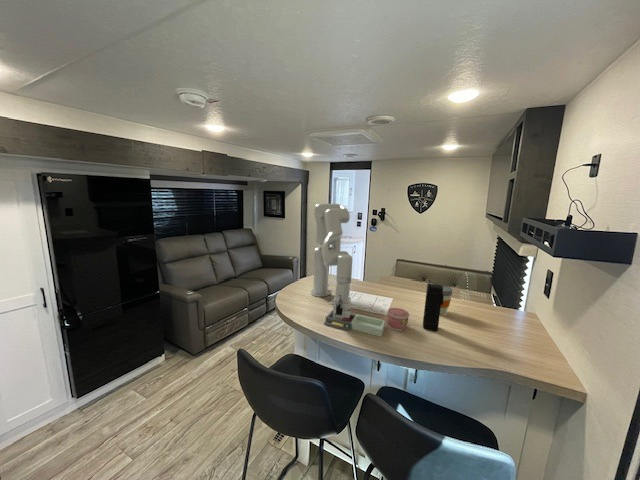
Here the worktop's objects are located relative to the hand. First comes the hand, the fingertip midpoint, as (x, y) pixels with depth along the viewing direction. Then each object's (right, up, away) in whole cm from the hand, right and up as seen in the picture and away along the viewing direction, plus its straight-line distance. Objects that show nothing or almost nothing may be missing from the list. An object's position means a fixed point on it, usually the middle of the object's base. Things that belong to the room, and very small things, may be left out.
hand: (342, 310), depth 131 cm
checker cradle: (0, -6, +1) cm, 6 cm away
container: (+28, -8, -2) cm, 29 cm away
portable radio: (+45, -9, -2) cm, 46 cm away
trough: (+13, -8, -4) cm, 15 cm away
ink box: (0, -5, +1) cm, 5 cm away
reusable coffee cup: (+57, -6, +17) cm, 60 cm away
